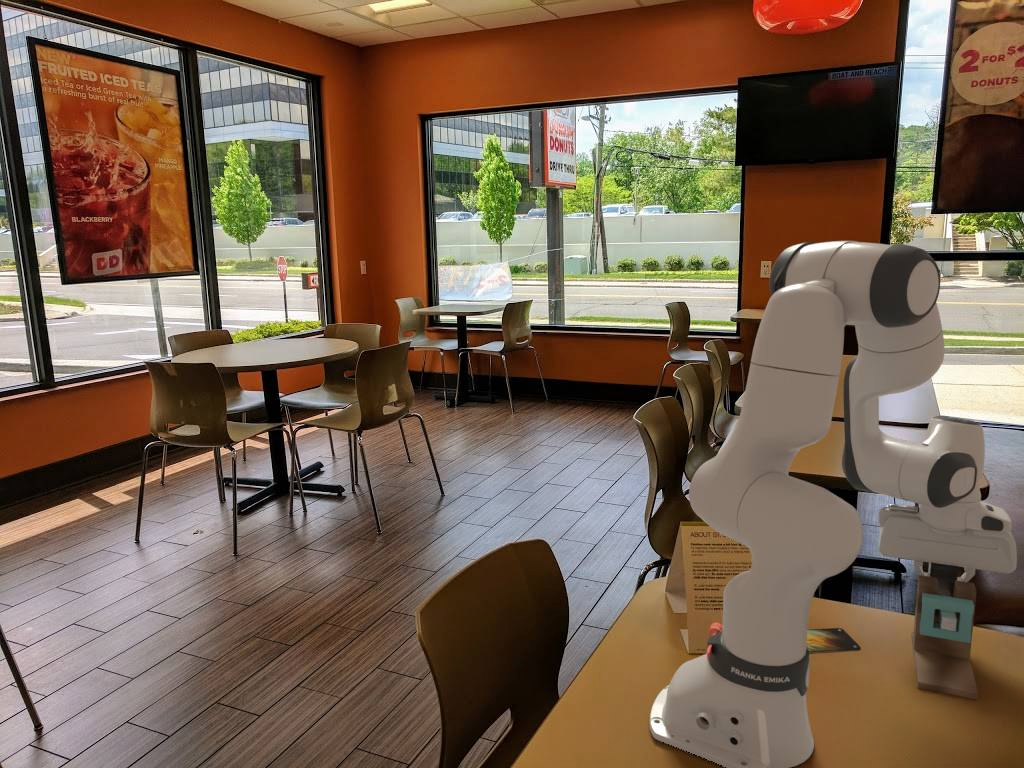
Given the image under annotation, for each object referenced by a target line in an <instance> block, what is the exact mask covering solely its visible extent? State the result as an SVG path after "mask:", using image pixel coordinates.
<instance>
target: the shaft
mask: <svg viewBox="0 0 1024 768" xmlns="http://www.w3.org/2000/svg"><path fill="white" fill-rule="evenodd" d="M927 569H928V571H927V573H929V577H935V578H937V581H938V595H941V596H947V597H953V595H954V584H955V580H956V581H957V577H958V574H959V566H952V565H944V564H937V563H930V562H928V568H927ZM937 612H938V617H939V622H940V627H941V629H945V630H951V631H956V622H957V619H956V615H955V612H953V611H946V610H940V609H937Z"/></svg>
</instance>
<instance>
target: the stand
mask: <svg viewBox="0 0 1024 768" xmlns="http://www.w3.org/2000/svg"><path fill="white" fill-rule="evenodd" d="M916 587H917V588H916V599H915V610H914V611H915V612H914V623H913V631H911V635H910V636H911V645H912V646H911V647H912V653H913V661H914V670H915V677H916V684H917V687H916V688H919V689H923V690H928V691H933V692H938V693H944V694H948V695H953V696H957V697H963V698H968V699H973V700H977V701H978V699H979V691H978V686H977V684H976V678H975V675H974V671H973V666H972V663H971V650H972V641H973V639H972V638H973V632H974V631H973V630H974V621H975V620H974V619H975V611H976V610H975V609H976V600H977V599H976V598H977V588H976V585H975V582H969V581H968V582H962V581H956V580H955V584H954V595H953V597H954V598H960V599H967V600H972V601H973V604H974V612H973V615H972V624H971V642H970V643H967V642H961V641H955V640H950V639H944V638H938V637H932V636H927V635H921V634H920V629H919V628H920V620H921V613H922V593H927V594H934V595H938V581H937V578H935V577H928V576H921V575H919V574H918V577H917V586H916ZM958 614H959V612H955V615H956V619H957V622H956V626H957V625H958ZM934 623H940V622H939V617H938V612H937V609H935V611H934Z"/></svg>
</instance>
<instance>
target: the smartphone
mask: <svg viewBox="0 0 1024 768" xmlns="http://www.w3.org/2000/svg"><path fill="white" fill-rule="evenodd" d="M806 645H807V647H808V649H809V654H815V653H816V654H817V653H819V654H820V653H821V654H822V653H835V652H850V651H851V652H852V651H861V650H860V649H862V648H861V646H860V645H859V644H858V642H856V640H855V639H853V637H852V636H850V635H849V633H848V632H846V630H845V629H843V628H841V627H832V628H831V627H829V628H812V629H810V628H809V629H807V643H806Z"/></svg>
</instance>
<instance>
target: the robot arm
mask: <svg viewBox="0 0 1024 768" xmlns="http://www.w3.org/2000/svg"><path fill="white" fill-rule="evenodd" d="M939 269H940V268H939V266H938V264H937V262H936V261H935V259H934V258H933V257H932V256H931V254H929V252H927V251H926V250H925V249H922V248H920V247H917V246H912V245H909V244H902V243H896V244H885V243H875V242H863V241H861V242H860V241H857V240H835V241H824V242H823V241H822V242H813V241H807V242H802V243H798V244H794V245H791V246H789V247H787V248H785V249H784V250H783V251H782V252H781V253H780V254H779V256H778V257H777V258H776V259H775V261H774V263H773V265H772V268H771V271H770V274H769V279H768V280H769V282H768V284H769V285H768V286H769V288H768V289H769V293H770V298H769V300H768V302H767V305H766V307H765V309H764V313H763V315H762V318H761V321H760V323H759V327H758V329H757V332H756V337H755V340H754V345H753V349H752V353H751V359H750V364H749V365H750V366H749V371H748V375H747V380H746V381H747V382H746V386H745V391H744V396H743V402H742V406H741V410H740V414H739V417H738V420H737V421H736V424H735V425H736V426H735V427H734V430H733V431H732V433H731V436H730V437H729V439H728V440H727V442H726V444H725V445H724V447H723V448H722V449H721V450H720V451H719V453H717V455H715V456H714V457H712V458H710V459H708V460H707V461H704V462H703V464H701V465H700V466H699V467H698V468H697V469H696V471H695V473H694V474H693V476H692V477H691V478H692V479H691V482H690V483H689V490H688V500H689V503H690V504H689V505H690V506H691V509H692V511H693V513H695V515H696V516H697V517H699V518H700V519H701V520H702V521H703V522H705V524H707V525H708V526H709V527H710V528H711V529H713V530H714V531H715V532H717V533H718V534H721V535H723V536H725V537H727V538H729V539H730V540H731V539H732V540H733V541H735V542H736V543H739V544H741V545H743V546H746V547H747V548H748V549H749V551H750V553H751V565H750V569H749V570H746V571H743V572H740V573H739V574H737V575H735V576H734V577H733V578H732V579H730V580H729V582H728V583H727V584H726V586H725V587H724V589H723V590H724V591H723V596H722V597H723V598H722V599H723V602H722V624H721V622H713V623H712V624H711V625H710V626H709V627H710V628H709V629H708V632H707V633H708V640H707V645H706V653H705V654H703V655H700V656H698V657H695V658H693V659H691V660H687V661H685V662H684V663H682V664H681V665H680V666H679V667H678V669H677V670H676V671H675V673H673V674H674V675H673V676H672V678H671V680H670V683H669V684H668V685H666V687H665V686H664V688H662V690H661V691H660V692H659V693H658V694H657V696H656V698H655V699H654V701H653V704H652V706H651V709H650V714H649V730H650V733H651V735H652V737H653V738H654V739H655V740H657V741H659V742H661V743H663V742H664V744H666V745H668V744H669V746H671V745H672V746H671V747H673V746H674V748H676V747H677V748H676V749H678V748H679V749H678V750H681V749H682V750H681V751H683V750H684V751H683V752H686V751H687V752H686V753H688V752H690V753H689V754H691V753H692V754H691V755H693V754H695V755H697V756H696V757H698V756H701V757H703V758H705V759H707V760H706V761H708V760H711V761H713V762H715V763H717V764H716V765H718V764H719V765H718V766H720V765H722V766H721V767H723V768H725V767H726V768H792V767H797V766H798V765H800V764H803V763H805V762H806V761H807V760H808V759H809V758H810V757H811V755H812V754H813V752H814V748H815V740H814V737H813V733H812V729H811V725H810V720H809V714H808V705H807V691H808V688H809V683H810V669H811V667H810V666H811V659H810V653H809V649H808V647H807V645H806V643H807V629H808V627H809V616H810V610H811V609H810V607H811V603H812V599H813V597H814V594H815V592H816V590H817V589H818V587H819V586H820V585H821V583H822V582H823V581H825V580H826V579H828V578H830V577H834V576H836V575H838V574H840V573H842V572H843V571H845V570H847V569H848V568H849V567H850V565H852V563H854V562H855V560H856V558H857V557H858V555H859V553H860V551H861V548H862V545H863V541H864V528H863V523H862V519H861V516H860V514H859V512H858V511H857V509H856V508H855V506H853V505H851V504H850V503H849V502H847V501H845V500H844V499H843V498H841V497H839V496H837V494H834V493H833V492H831V491H830V490H828V489H826V488H824V487H822V486H819V485H817V484H814V483H811V482H808V481H806V480H802V479H799V478H797V477H794V476H791V475H789V471H790V468H791V465H792V463H793V460H794V459H795V457H796V455H797V454H798V453H799V451H800V450H801V449H803V448H805V447H809V446H812V445H814V444H816V443H819V442H820V441H821V440H823V439H824V438H825V437H826V435H827V434H828V433H829V431H830V429H831V425H832V424H831V423H832V419H833V414H834V408H835V401H836V398H837V397H836V396H837V394H838V393H837V391H838V387H839V380H840V374H841V371H842V370H841V369H842V362H843V353H844V344H845V342H844V341H845V327H846V325H847V326H854V327H855V335H856V340H857V344H858V346H857V347H858V353H857V355H856V356H854V357H853V358H852V359H851V360H850V361H849V362H848V364H847V366H846V368H845V369H846V370H845V373H844V379H843V395H842V396H843V423H844V424H843V426H844V427H843V429H844V445H843V450H842V455H841V456H842V458H841V469H842V472H843V474H844V477H845V478H846V480H847V481H848V483H849V484H850V485H851V486H852V488H853V489H855V490H857V491H863V492H867V493H873V494H880V495H884V496H888V497H891V498H895V499H899V500H902V501H905V502H911V503H915V504H918V506H914V505H900V504H899V505H898V504H896V503H889V505H885V506H883V507H881V508H880V509H879V511H878V519H877V521H878V524H879V526H880V527H881V528H880V531H879V536H878V551H879V552H880V554H881V555H882V556H883V557H887V558H895V559H903V560H909V561H912V565H913V568H914V569H915V572H916V573H917V574H918V575H921V576H928V577H929V573H928V572H925V571H923V569H922V568H923V565H924V562H925V563H929V562H930V563H937V564H944V565H952V566H958V568H959V567H961V568H964V573H963V574H962V575H961V576H957V581H962V582H969V581H970V580H971V579H973V578H974V576H975V575H976V570H980V571H981V570H983V571H989V572H996V573H1004V574H1011V573H1013V572H1014V571H1016V570H1017V563H1018V562H1017V561H1018V558H1017V555H1018V553H1017V543H1016V539H1015V538H1014V535H1013V533H1012V532H1011V531H1012V527H1013V526H1012V519H1011V517H1010V515H1009V514H1008V513H1007V512H1006V510H1005V509H1004V508H1002V507H999V506H997V505H993V504H991V503H988V502H985V501H983V500H982V499H981V498H982V494H981V493H982V492H981V490H980V482H981V479H982V477H983V475H984V472H985V471H984V470H985V469H984V468H985V459H986V458H985V455H986V454H985V453H986V449H985V447H986V445H985V443H986V442H985V434H984V429H983V426H982V425H981V424H980V423H978V422H977V421H974V420H970V419H964V418H960V417H951V416H945V415H936V416H933V417H931V418H930V421H929V423H928V427H927V430H926V435H925V439H924V440H923V441H921V442H915V441H911V440H905V439H901V438H895V437H892V436H889V435H888V434H886V433H884V432H883V431H882V430H881V429H880V424H879V423H880V419H879V417H880V410H879V409H880V397H883V396H888V395H894V394H902V393H905V392H907V391H911V390H913V389H915V388H917V387H920V386H921V385H924V384H925V383H926V382H928V381H929V380H931V379H932V378H933V376H934V375H936V374H937V373H938V371H939V370H940V368H941V366H942V364H943V362H944V358H945V339H944V338H945V337H944V332H943V325H942V321H941V315H940V311H939V307H938V303H937V301H938V298H939V295H940V291H941V290H940V289H941V273H940V270H939ZM695 755H694V756H695ZM703 758H702V759H703ZM705 759H704V760H705ZM713 762H712V763H713ZM715 763H714V764H715Z"/></svg>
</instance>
